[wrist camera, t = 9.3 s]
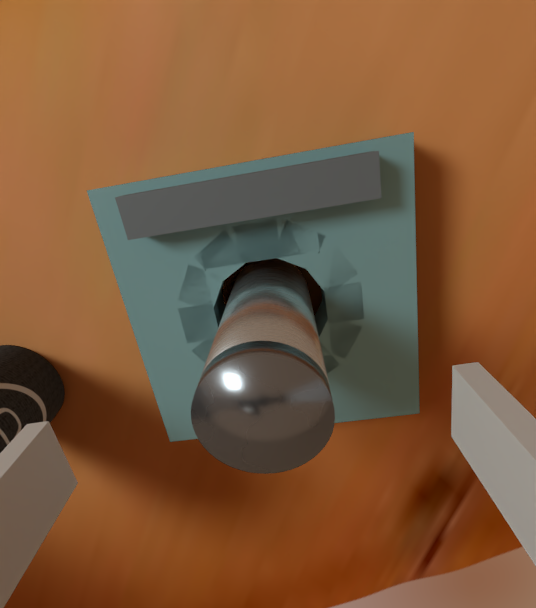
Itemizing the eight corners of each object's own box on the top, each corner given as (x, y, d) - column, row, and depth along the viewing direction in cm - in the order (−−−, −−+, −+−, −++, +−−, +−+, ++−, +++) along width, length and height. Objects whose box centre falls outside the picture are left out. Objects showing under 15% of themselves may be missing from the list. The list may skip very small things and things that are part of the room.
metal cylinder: (240, 333, 25) (208, 479, 13) (225, 263, 23) (174, 366, 12) (312, 323, 24) (341, 466, 13) (303, 251, 22) (326, 346, 11)
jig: (181, 412, 27) (162, 460, 23) (112, 186, 21) (70, 193, 17) (404, 385, 26) (429, 431, 21) (394, 135, 20) (426, 129, 16)
